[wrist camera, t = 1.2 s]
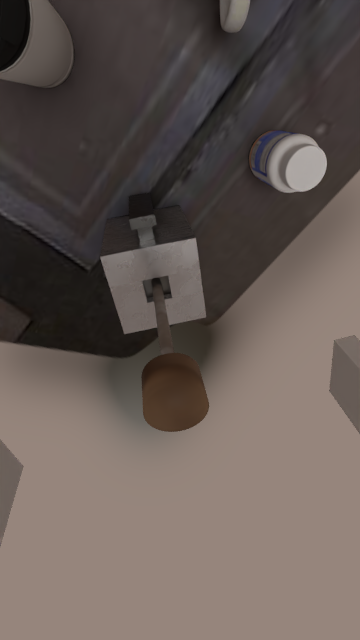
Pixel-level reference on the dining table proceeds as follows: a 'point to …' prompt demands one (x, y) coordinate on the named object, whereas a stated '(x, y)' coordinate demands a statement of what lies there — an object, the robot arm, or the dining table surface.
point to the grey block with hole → (152, 264)
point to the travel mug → (34, 44)
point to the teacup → (233, 14)
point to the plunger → (170, 375)
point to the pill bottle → (287, 161)
